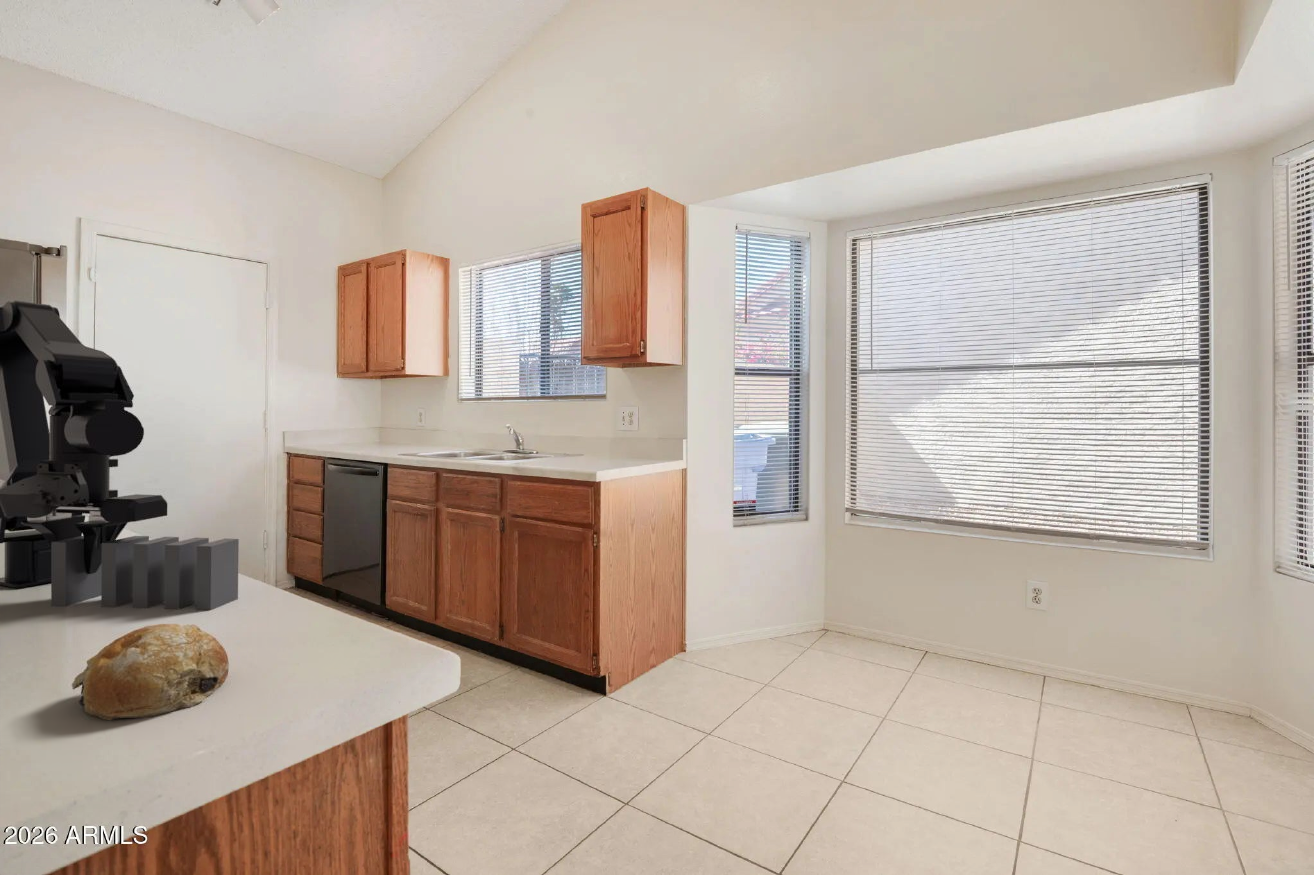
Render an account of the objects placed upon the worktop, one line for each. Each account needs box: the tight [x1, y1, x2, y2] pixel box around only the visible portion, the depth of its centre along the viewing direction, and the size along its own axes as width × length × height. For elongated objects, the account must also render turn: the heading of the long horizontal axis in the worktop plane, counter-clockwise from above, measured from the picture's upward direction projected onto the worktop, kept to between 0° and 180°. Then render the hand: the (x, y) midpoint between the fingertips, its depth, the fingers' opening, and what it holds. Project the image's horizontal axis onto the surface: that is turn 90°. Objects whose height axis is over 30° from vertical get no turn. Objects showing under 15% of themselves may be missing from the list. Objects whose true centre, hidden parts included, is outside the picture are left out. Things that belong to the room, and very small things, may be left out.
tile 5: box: [195, 537, 240, 611], centre depth 81 cm, size 2×5×8 cm, turn 179°
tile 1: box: [50, 535, 102, 607], centre depth 81 cm, size 2×5×8 cm, turn 179°
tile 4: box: [164, 537, 210, 610], centre depth 81 cm, size 2×5×8 cm, turn 179°
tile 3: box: [132, 536, 180, 609], centre depth 81 cm, size 2×5×8 cm, turn 179°
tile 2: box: [100, 535, 150, 608], centre depth 81 cm, size 2×5×8 cm, turn 179°
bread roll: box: [71, 623, 230, 721], centre depth 55 cm, size 10×10×8 cm
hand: (79, 573), depth 81 cm, fingers open, 3 cm apart
